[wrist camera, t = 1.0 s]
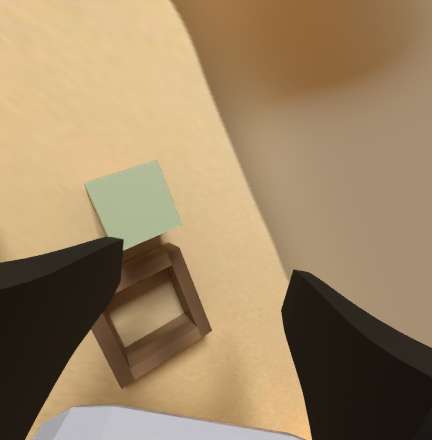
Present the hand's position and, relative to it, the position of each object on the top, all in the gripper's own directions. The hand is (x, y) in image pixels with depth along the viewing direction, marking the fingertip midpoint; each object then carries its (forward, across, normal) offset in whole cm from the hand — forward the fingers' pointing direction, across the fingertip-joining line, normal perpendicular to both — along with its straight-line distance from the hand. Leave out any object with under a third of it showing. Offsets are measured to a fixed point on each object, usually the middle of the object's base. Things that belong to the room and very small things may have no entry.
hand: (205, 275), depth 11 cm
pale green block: (+10, +7, +1) cm, 12 cm away
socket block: (+9, +4, +8) cm, 13 cm away
